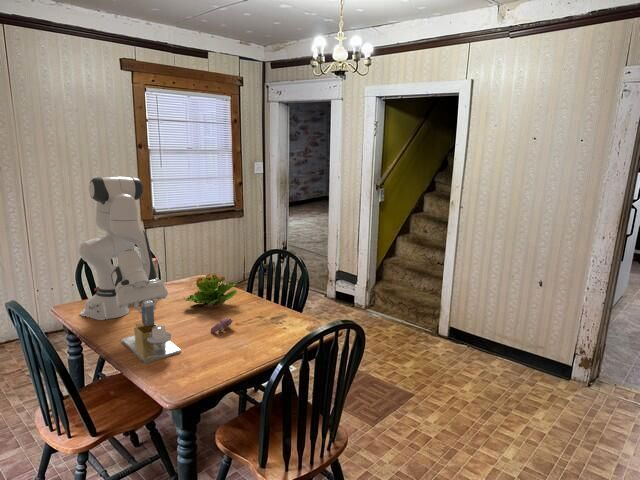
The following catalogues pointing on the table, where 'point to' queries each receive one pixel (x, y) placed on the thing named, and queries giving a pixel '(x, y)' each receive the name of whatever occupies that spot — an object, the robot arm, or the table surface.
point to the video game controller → (221, 325)
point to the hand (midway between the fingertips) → (148, 311)
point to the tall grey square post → (147, 312)
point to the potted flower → (212, 291)
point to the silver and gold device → (151, 343)
